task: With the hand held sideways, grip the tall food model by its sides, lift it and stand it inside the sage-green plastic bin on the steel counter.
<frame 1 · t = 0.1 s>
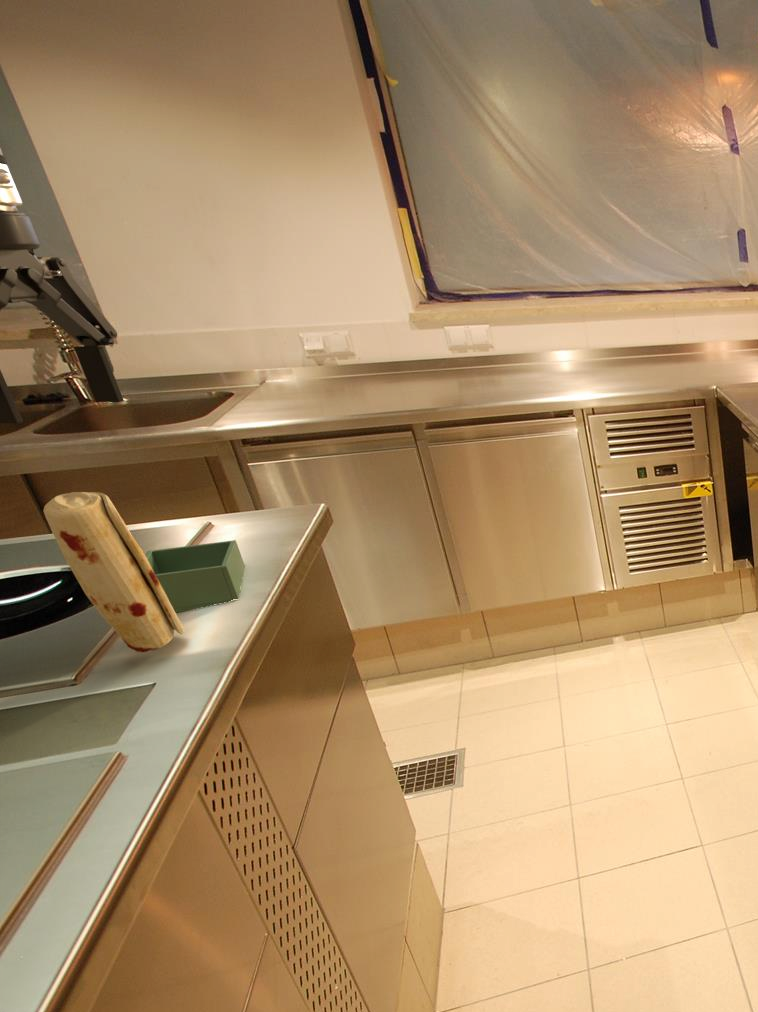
hand: (61, 411, 98), 29 cm above the worktop, tool pointing down, fingers open, 13 cm apart
food model: (157, 643, 108), on the worktop
bin: (200, 594, 122), on the worktop
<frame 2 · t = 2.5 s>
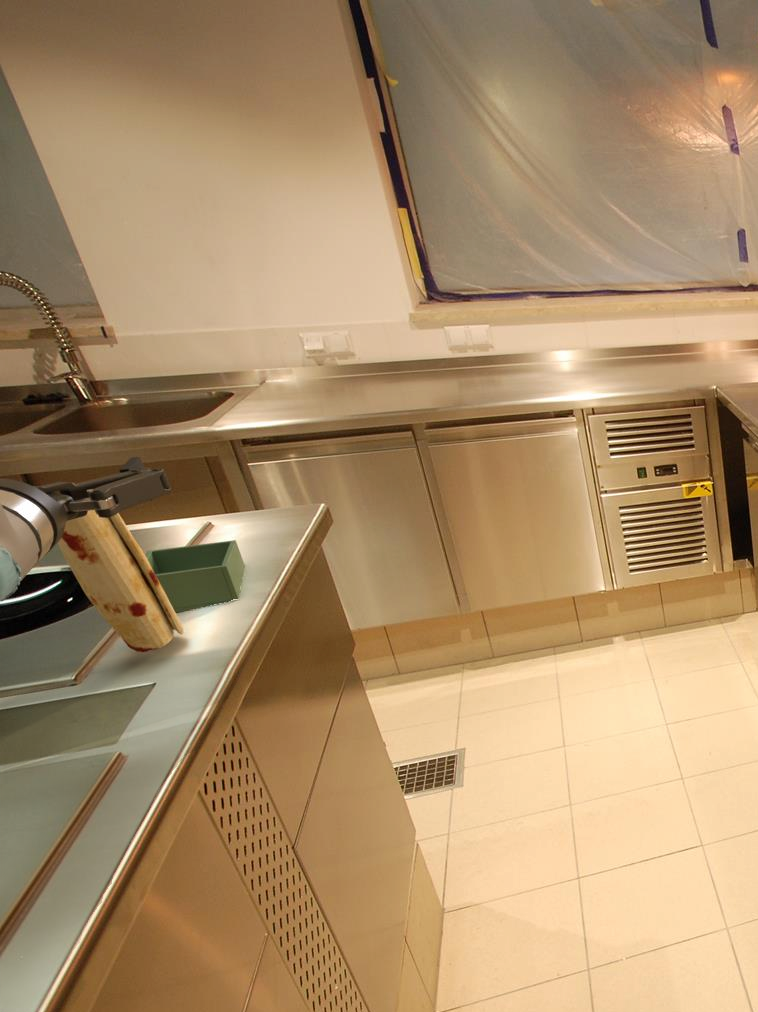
hand: (56, 476, 90), 24 cm above the worktop, tool horizontal, fingers open, 13 cm apart
nothing on the worktop moved.
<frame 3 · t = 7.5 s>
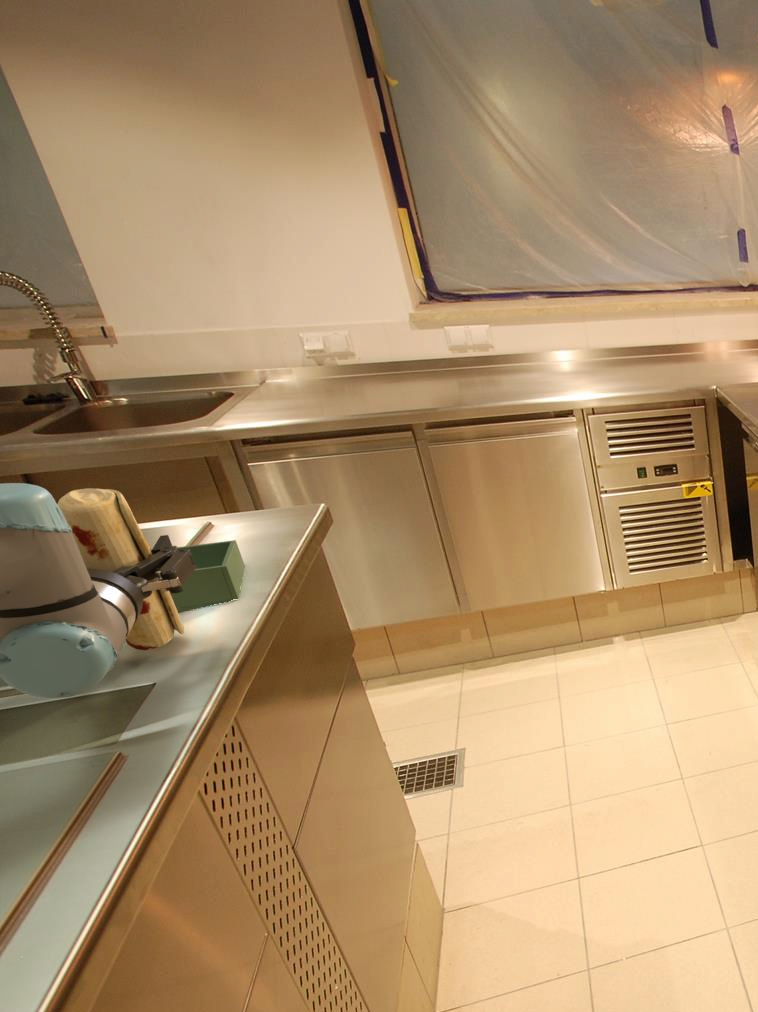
hand: (129, 550, 107), 11 cm above the worktop, tool horizontal, fingers closed on food model, 7 cm apart
food model: (156, 642, 108), on the worktop, touching gripper
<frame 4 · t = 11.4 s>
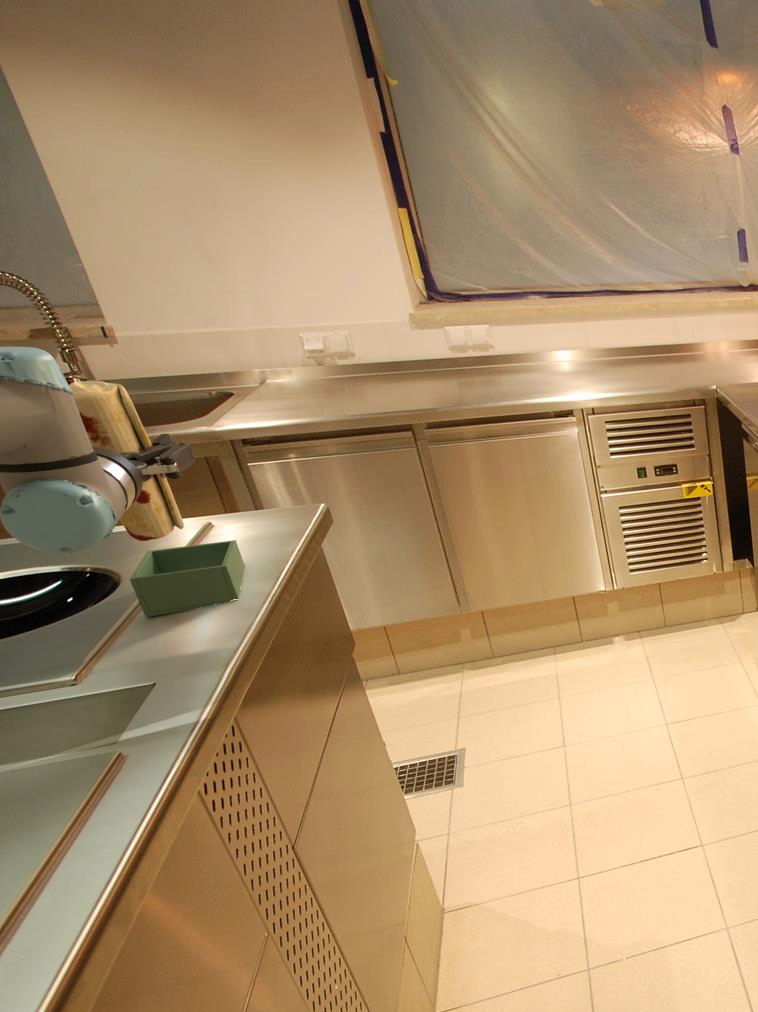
hand: (131, 446, 111), 22 cm above the worktop, tool horizontal, fingers closed on food model, 7 cm apart
food model: (157, 535, 112), point 11 cm above the worktop, touching gripper
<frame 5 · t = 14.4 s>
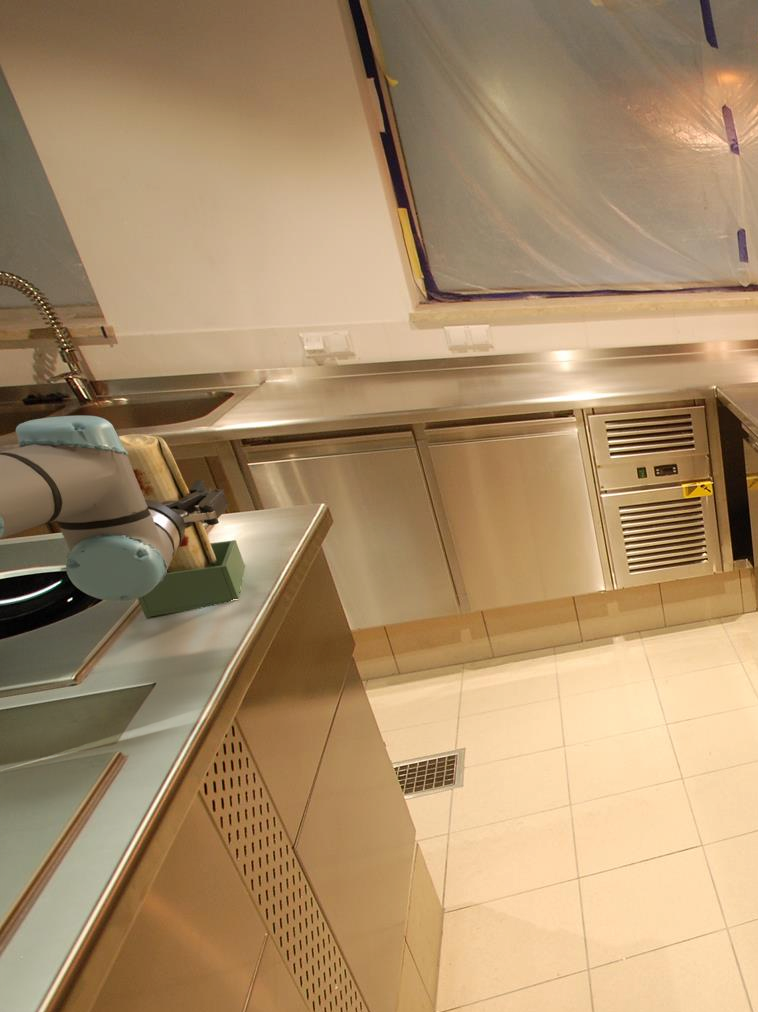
hand: (169, 492, 120), 14 cm above the worktop, tool horizontal, fingers closed on food model, 7 cm apart
food model: (193, 574, 121), point 3 cm above the worktop, touching gripper
when the fingers open (12 cm above the worktop, at t = 15.6 s): food model stays where it is, resting on bin.
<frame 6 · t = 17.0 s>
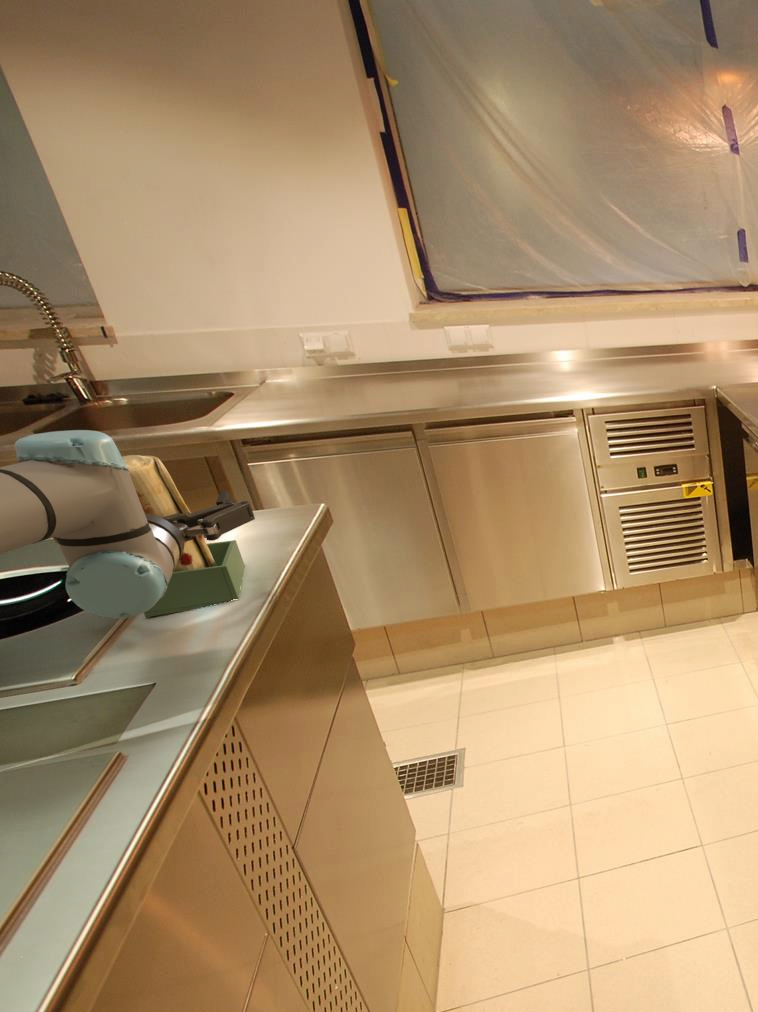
hand: (165, 506, 117), 13 cm above the worktop, tool horizontal, fingers open, 13 cm apart
food model: (199, 591, 122), point 1 cm above the worktop, touching bin
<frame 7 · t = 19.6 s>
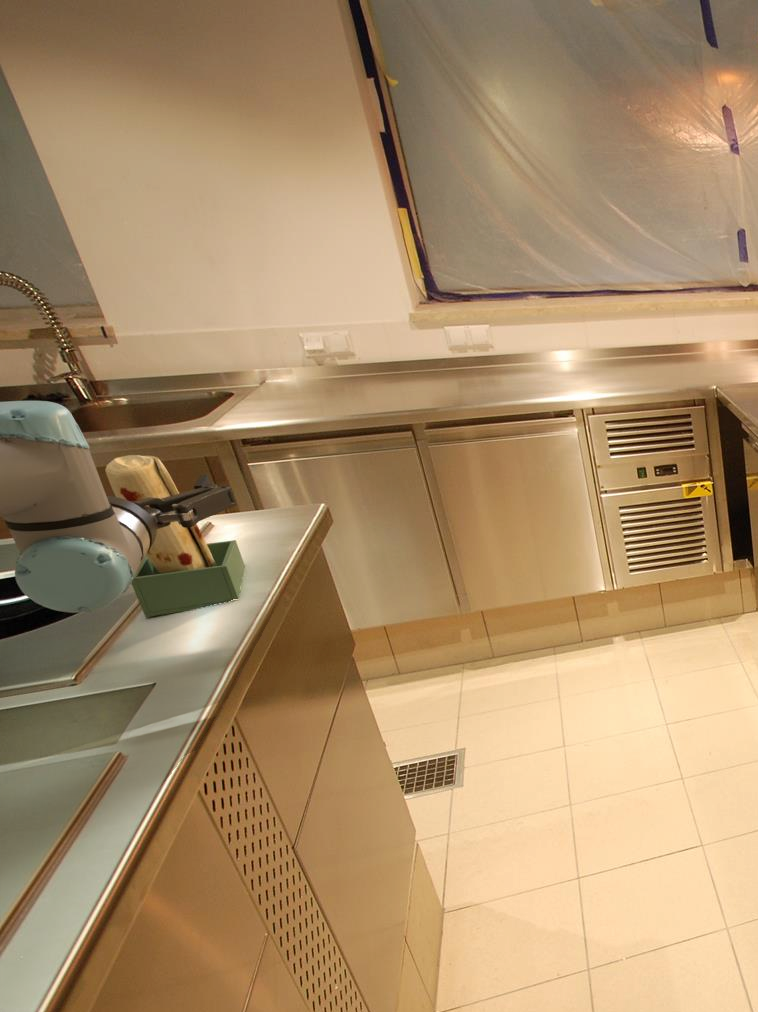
hand: (139, 490, 107), 18 cm above the worktop, tool horizontal, fingers open, 13 cm apart
nothing on the worktop moved.
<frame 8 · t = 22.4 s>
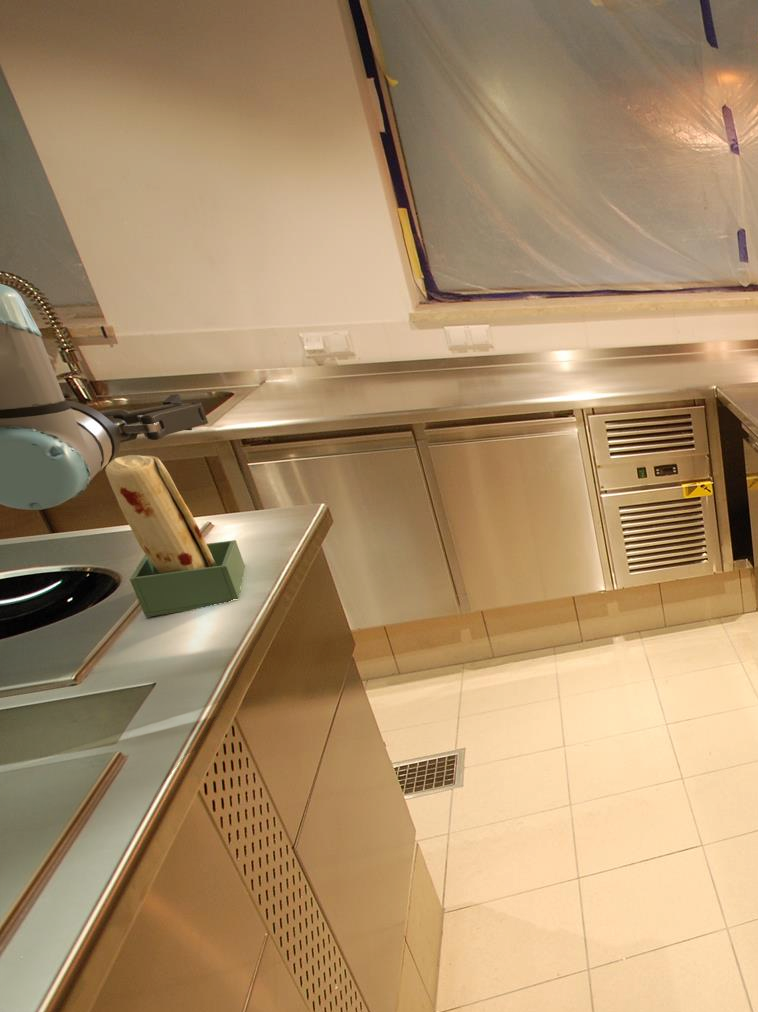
hand: (107, 409, 103), 28 cm above the worktop, tool horizontal, fingers open, 13 cm apart
nothing on the worktop moved.
at the end: food model inside the target area in the bin (0.1 cm from its centre), point 0.5 cm above the bin's base; food model tilted 6°; the gripper is holding nothing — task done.
